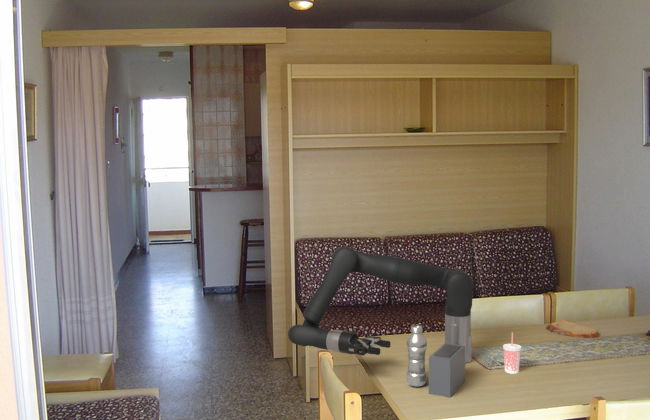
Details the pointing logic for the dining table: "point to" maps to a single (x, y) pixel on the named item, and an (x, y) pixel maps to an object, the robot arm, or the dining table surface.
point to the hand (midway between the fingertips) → (385, 348)
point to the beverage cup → (511, 357)
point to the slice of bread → (572, 329)
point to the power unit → (446, 369)
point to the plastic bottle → (416, 357)
